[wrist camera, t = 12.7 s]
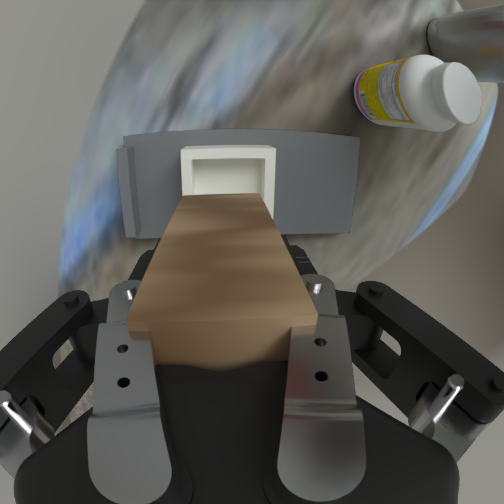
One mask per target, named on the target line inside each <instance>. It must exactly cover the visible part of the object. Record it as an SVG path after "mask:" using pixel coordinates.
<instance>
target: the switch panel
mask: <svg viewBox="0 0 504 504" xmlns="http://www.w3.org/2000/svg"><path fill="white" fill-rule="evenodd" d="M123 141H124V147H123V148H120V149H117V150H116V152H117V166H118V178H119V188H120V197H121V206H122V213H123V221H124V228H125V234H126V238H130V237H133V239H147V238H162V236H163V234H164V232H165V230H166V228H167V226H168V224H169V222H170V220H171V218H172V216H173V214H174V212H175V210H176V208H177V206H178V204H179V202H180V200H181V198H182V175H181V149H183V148H184V147H186V146H204V145H269V146H272V147H274V148H276V164H275V190H274V212H273V221H274V223H275V225H276V227H277V229H278V231H279V233H280V234H331V233H350V228H351V222H352V215H353V207H354V200H355V191H356V183H357V173H358V163H359V152H360V137H354V136H346V135H338V134H328V133H318V132H306V131H291V130H270V129H206V130H185V131H170V132H158V133H147V134H138V135H130V136H124V137H123Z"/></svg>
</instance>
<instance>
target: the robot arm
mask: <svg viewBox="0 0 504 504" xmlns="http://www.w3.org/2000/svg"><path fill="white" fill-rule="evenodd" d="M427 37H428V43H429V46H430V49H431V52H432V54H433V56H434V57H436V58H438V59H440V60H441V61H443V62H444V63H452V62H457V63H461V64H463V65H464V66H466V67H467V68H468V69H469V70H470V71H471V72H472V74H473V75H474V76H475V78H476V80H477V82H494V83H504V4H502V5H496V6H489V7H483V8H477V9H472V10H467V11H463V12H458V13H454V14H450V15H446V16H443V17H439V18H436V19H433V20H432V21H431V22H430V24H429V25H428V30H427ZM281 237H282V239H283V241H284V243H285V245H286V247H287V249H288V251H289V253H290V255H291V258H292V260H293V262H294V264H295V266H296V268H297V270H298V272H299V274H300V276H301V278H302V281H303V283H304V285H305V287H306V289H307V291H308V293H309V295H310V298H311V300H312V302H313V304H314V306H315V308H316V311H317V313H318V317H317V323H316V325H307V326H296V327H292V329H291V337H290V344H289V355H288V360H284V361H273V362H260V363H256V364H252V365H248V366H244V367H240V368H236V369H232V370H228V371H214V370H209V369H203V368H198V367H193V366H188V365H158V364H156V353H155V349H154V346H153V343H152V339H151V335H150V332H146V331H128V327H127V324H126V321H125V320H126V318H127V315H128V313H129V310H130V308H131V305H132V303H133V300H134V298H135V296H136V293H137V291H138V289H139V286H140V284H141V282H142V279H143V277H144V275H145V273H146V270H147V268H148V266H149V264H150V261H151V259H152V257H153V255H154V253H155V251H156V248H157V246H158V244H159V242H160V240H161V239H159V240H158V242H157V245H156V247H155V249H154V250H148V251H146V252H145V253H144V254H142V255H141V256H140V258H139V260H138V263H137V264H136V266H135V268H134V269H133V271H132V273H131V275H130V277H129V279H128V281H124V282H121V283H119V284H117V285H115V286H114V287H113V288H112V289H111V291H110V295H109V298H107V299H103V300H98V301H93V302H91V301H90V298H89V295H88V294H87V293H86V292H84V291H80V290H76V291H71V292H68V293H66V294H64V295H62V296H61V297H59V298H58V299H57V300H56V301H55V302H53V303H52V304H51V305H50V306H49V307H48V308H46V309H45V310H44V311H43V312H42V313H41V314H39V315H38V316H37V317H36V318H35V319H34V320H33V321H32V322H30V323H29V324H28V325H27V326H26V327H25V328H24V329H23V330H22V331H21V332H20V333H18V334H17V335H16V336H15V337H14V338H13V339H12V340H11V341H10V342H9V343H8V344H7V345H6V346H5V347H4V348H3V349H2V350H1V351H0V464H1V465H2V466H3V467H4V469H5V470H6V471H7V472H8V473H9V474H10V475H11V476H12V477H13V478H14V497H15V500H16V504H457V502H458V490H459V480H460V478H459V470H458V466H457V461H458V460H459V459H460V458H461V457H462V456H463V454H464V453H465V452H466V451H467V449H468V448H469V447H470V446H471V444H472V443H473V442H474V440H475V439H476V438H477V437H478V436H479V435H480V434H481V433H482V432H483V431H484V430H485V429H486V428H487V427H488V426H489V425H490V424H491V423H492V421H494V419H495V418H496V417H497V416H498V415H499V414H500V413H501V412H502V411H503V410H504V372H503V371H501V370H500V369H499V368H498V367H497V366H495V365H494V364H493V363H491V362H490V361H489V360H488V359H486V358H485V357H484V356H483V355H482V354H480V353H479V352H478V351H476V350H475V349H474V348H472V347H471V346H470V345H469V344H467V343H466V342H465V341H463V340H462V339H461V338H459V337H458V336H457V335H455V334H454V333H453V332H451V331H450V330H449V329H447V328H446V327H445V326H443V325H442V324H441V323H439V322H438V321H437V320H435V319H434V318H433V317H431V316H430V315H428V314H427V313H426V312H424V311H423V310H421V309H420V308H418V307H417V306H416V305H414V304H413V303H412V302H410V301H409V300H407V299H406V298H404V297H403V296H401V295H400V294H399V293H397V292H396V291H394V290H393V289H391V288H390V287H389V286H387V285H385V284H383V283H380V282H376V281H365V282H362V283H360V284H359V285H358V287H357V291H356V293H355V292H346V291H339V290H336V289H335V287H334V283H333V282H332V281H331V280H330V279H329V278H327V277H325V276H322V275H318V274H317V272H316V270H315V268H314V267H313V265H312V263H311V262H310V260H309V258H308V257H307V255H306V253H305V251H304V250H303V249H301V248H300V247H298V246H296V245H294V246H290V245H289V243H288V241H287V239H286V237H285V236H284V235H281ZM383 330H385V331H386V332H387V333H388V334H389V335H391V336H392V337H393V338H394V339H395V340H397V341H398V343H399V344H400V346H401V355H400V356H399V355H398V354H396V353H395V352H394V351H393V350H392V349H391V348H390V347H388V346H387V345H386V344H385V343H384V342H383V341H382V340H380V338H381V335H382V332H383ZM68 339H69V341H70V343H71V345H72V347H73V349H74V350H73V351H72V352H71V353H70V354H69V355H68V356H67V357H66V358H65V360H64V361H63V362H62V363H61V364H60V365H59V366H58V367H57V368H56V370H55V368H54V366H53V362H52V360H53V356H54V354H55V352H56V351H57V350H58V349H59V348H60V347H61V346H62V345H63V344H64V343H65V342H66V341H67V340H68ZM352 362H353V363H354V364H355V365H356V366H357V367H358V368H359V369H360V370H361V371H362V372H363V373H364V374H365V375H366V376H367V377H368V378H369V379H370V380H371V381H372V382H373V383H374V384H375V385H376V386H377V387H378V388H379V389H380V390H381V391H382V392H383V393H384V394H385V395H386V396H387V397H388V398H389V399H390V400H391V401H392V402H393V403H394V404H395V405H396V406H397V407H398V408H399V409H400V410H401V411H402V412H403V413H404V414H405V415H406V416H407V417H408V423H409V426H410V427H409V426H407V425H405V424H404V423H402V422H400V421H399V420H397V419H395V418H393V417H392V416H390V415H388V414H387V413H385V412H383V411H381V410H380V409H378V408H376V407H375V406H373V405H371V404H370V403H368V402H367V401H365V400H363V399H362V398H360V397H358V396H357V395H356V392H355V383H354V375H353V367H352ZM93 381H94V390H93V407H92V408H90V409H89V410H88V411H87V412H85V413H84V414H83V415H82V416H80V417H79V418H78V419H77V420H75V421H74V422H73V423H71V424H70V425H69V426H68V427H66V428H65V429H64V430H62V431H61V432H60V433H59V434H57V435H56V436H55V432H56V430H57V429H58V428H59V426H60V425H61V424H62V422H63V421H64V420H65V418H66V417H67V415H68V414H69V413H70V412H71V410H72V409H73V408H74V406H75V405H76V404H77V402H78V401H79V400H80V398H81V397H82V396H83V394H84V393H85V392H86V390H87V389H88V388H89V387H90V385H91V384H92V383H93Z"/></svg>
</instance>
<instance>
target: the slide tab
mask: <svg viewBox="0 0 504 504" xmlns="http://www.w3.org/2000/svg"><path fill="white" fill-rule="evenodd" d="M275 164H276V148H274V147H272V146H269V145H204V146H186V147H184V148H183V149H181V175H182V196H183V195H204V194H236V193H260V195H261V197H262V199H263V201H264V203H265V205H266V207H267V209H268V211H269V213H270V215H271V217H272V219H273V212H274V190H275Z"/></svg>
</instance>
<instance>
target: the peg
mask: <svg viewBox="0 0 504 504" xmlns="http://www.w3.org/2000/svg"><path fill="white" fill-rule="evenodd" d="M317 317H318V313H317V311H316V308H315V306H314V304H313V302H312V300H311V298H310V295H309V293H308V291H307V289H306V287H305V285H304V283H303V281H302V278H301V276H300V274H299V272H298V270H297V268H296V266H295V264H294V262H293V260H292V258H291V255H290V253H289V251H288V249H287V247H286V245H285V243H284V241H283V239H282V237H281V235H280V233H279V231H278V229H277V227H276V225H275V223H274V221H273V219H272V217H271V215H270V213H269V211H268V209H267V207H266V205H265V203H264V201H263V199H262V197H261V195H260V193H236V194H204V195H183V196H182V198H181V200H180V202H179V204H178V206H177V208H176V210H175V212H174V214H173V216H172V218H171V220H170V222H169V224H168V226H167V228H166V230H165V232H164V234H163V236H162V238H161V240H160V242H159V244H158V246H157V248H156V251H155V253H154V255H153V257H152V259H151V261H150V264H149V266H148V268H147V270H146V273H145V275H144V277H143V279H142V282H141V284H140V286H139V289H138V291H137V293H136V296H135V298H134V300H133V303H132V305H131V308H130V310H129V313H128V315H127V318H126V320H125V321H126V324H127V327H128V331H146V332H150V335H151V339H152V343H153V346H154V349H155V353H156V364H158V365H188V366H193V367H198V368H203V369H209V370H214V371H228V370H232V369H236V368H240V367H244V366H248V365H252V364H256V363H260V362H273V361H284V360H288V355H289V344H290V337H291V329H292V327H296V326H307V325H316V323H317Z"/></svg>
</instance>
